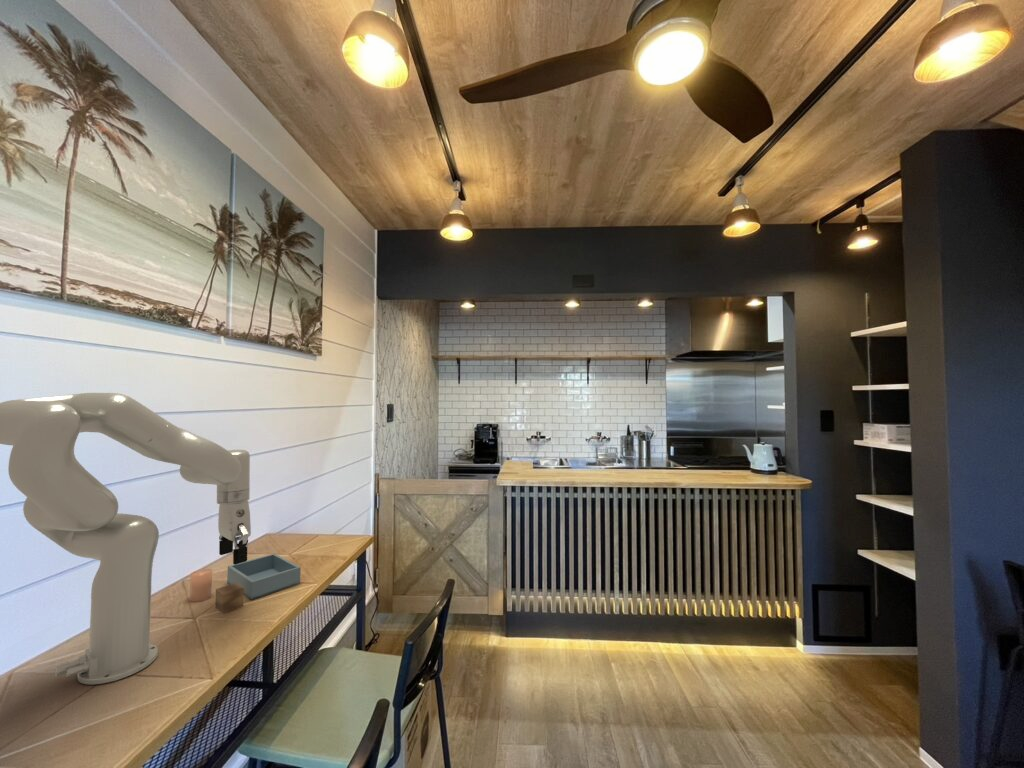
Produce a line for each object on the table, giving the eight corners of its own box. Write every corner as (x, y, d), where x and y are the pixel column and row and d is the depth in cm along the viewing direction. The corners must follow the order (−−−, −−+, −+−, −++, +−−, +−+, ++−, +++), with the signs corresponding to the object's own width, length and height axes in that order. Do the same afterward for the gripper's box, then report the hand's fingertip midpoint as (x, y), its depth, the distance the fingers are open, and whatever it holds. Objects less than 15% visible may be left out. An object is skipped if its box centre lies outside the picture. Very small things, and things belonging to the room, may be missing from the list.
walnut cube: (222, 613, 112) (222, 594, 112) (215, 607, 115) (215, 589, 115) (243, 606, 116) (243, 587, 116) (235, 600, 119) (236, 582, 119)
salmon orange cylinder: (193, 603, 117) (193, 577, 117) (187, 598, 120) (187, 573, 120) (214, 596, 121) (214, 571, 121) (208, 591, 124) (208, 567, 124)
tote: (251, 600, 119) (252, 582, 119) (227, 582, 130) (227, 566, 130) (300, 583, 130) (300, 567, 130) (274, 568, 141) (274, 553, 141)
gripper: (261, 498, 114) (261, 561, 114) (236, 488, 125) (235, 546, 125) (230, 504, 108) (229, 571, 108) (206, 493, 119) (205, 554, 119)
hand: (233, 558), depth 117 cm, fingers open, 9 cm apart
